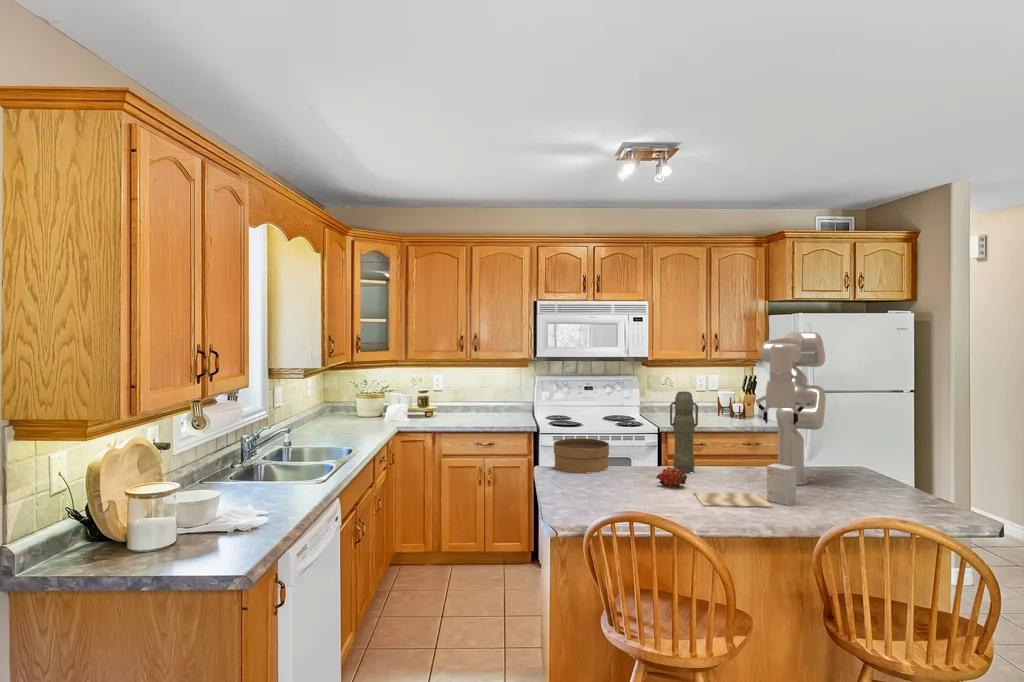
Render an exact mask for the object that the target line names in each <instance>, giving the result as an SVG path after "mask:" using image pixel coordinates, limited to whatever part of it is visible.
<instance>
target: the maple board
mask: <svg viewBox="0 0 1024 682" xmlns="http://www.w3.org/2000/svg"><path fill="white" fill-rule="evenodd" d="M693 495H694V497H695V496H696V497H697V498H696V497H695V498H696V499H697V501H698V502H699V501H700V502H699V503H700V504H701V506H702V505H703V506H702V507H707V506H734V507H733V508H751V507H773V508H774V506H773V504H772V503H770V501H767V499H765V497H764V496H762V495H761V494H760V493H742V492H741V493H736V492H735V493H734V492H696V491H695V492H693Z"/></svg>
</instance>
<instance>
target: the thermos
mask: <svg viewBox="0 0 1024 682" xmlns="http://www.w3.org/2000/svg"><path fill="white" fill-rule="evenodd" d="M673 406H674V410H675V412H674V417H673ZM694 407H695V417H694V413H693V412H694ZM669 425H670V426H672V427H673V433H674V453H673V454H674V455H673V458H672V459H673V463H672V464H673V468H674V469H675V467H677V468H678V469H680V470H683V472H684V473H689V474H691V473H690V472H695V456H694V434H695V428H696V427H697V426H698V425H699V406H698V404H697V403H696V402H694V399H693V395H692V392H690V391H678V392H677V393H675V397H674V402H673V401H672V402H671V403H670V405H669Z"/></svg>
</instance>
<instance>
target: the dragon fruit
mask: <svg viewBox="0 0 1024 682" xmlns="http://www.w3.org/2000/svg"><path fill="white" fill-rule="evenodd" d="M687 478H688V476H687V474H685V473H684V472H683V470H680V469H678V468H677V467H675V469H674V467H669V466H668V467H667V468H665V469H663V471H662V472H660V473H659V474H657V476H656V477H655V479H658V480H659V481H658V483H659V484H661V486H664V487H667V486H668V487H669V488H670V489H673V488H674V487H675V488H680V486H681V485H685V484H686V480H687Z"/></svg>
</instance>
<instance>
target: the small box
mask: <svg viewBox="0 0 1024 682" xmlns="http://www.w3.org/2000/svg"><path fill="white" fill-rule="evenodd" d="M766 500H767V501H768V502H770V501H771V503H774V502H776V503H775V504H779V503H780V505H783V504H786V505H785V506H790V505H789V504H791V505H793V504H792V503H794V504H796V503H797V485H796V467H793V466H787V465H781V464H778V463H772V464H769V465H766ZM795 502H796V503H795Z"/></svg>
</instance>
